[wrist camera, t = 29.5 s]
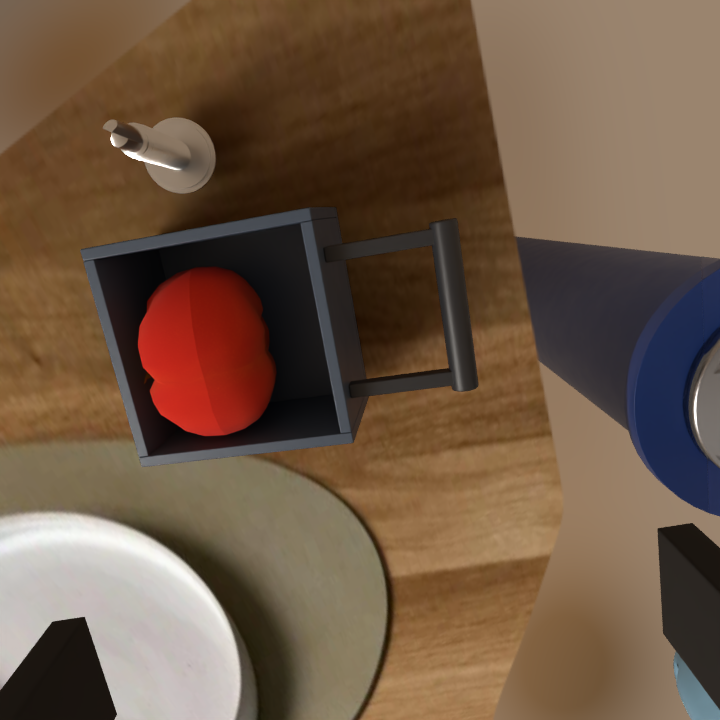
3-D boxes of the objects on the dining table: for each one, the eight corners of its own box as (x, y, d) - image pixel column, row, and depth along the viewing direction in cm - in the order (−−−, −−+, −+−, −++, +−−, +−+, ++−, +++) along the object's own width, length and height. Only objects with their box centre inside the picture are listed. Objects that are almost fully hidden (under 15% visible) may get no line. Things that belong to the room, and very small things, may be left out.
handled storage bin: (448, 186, 39) (453, 180, 30) (474, 382, 42) (485, 428, 33) (151, 240, 42) (79, 249, 33) (196, 417, 45) (141, 467, 37)
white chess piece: (210, 204, 41) (145, 179, 41) (231, 138, 40) (165, 111, 40) (145, 198, 29) (51, 161, 28) (174, 102, 28) (76, 61, 27)
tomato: (249, 279, 30) (105, 304, 30) (288, 454, 35) (163, 479, 34) (254, 242, 40) (146, 260, 40) (283, 382, 44) (186, 401, 44)
